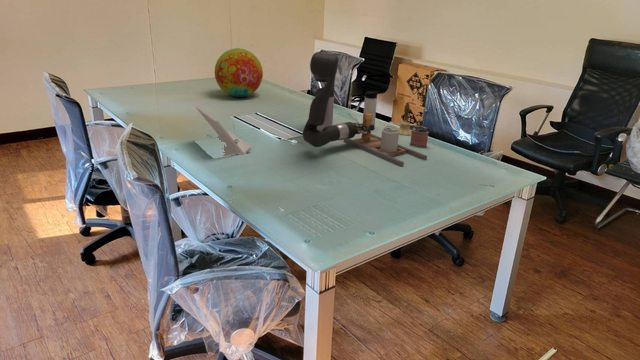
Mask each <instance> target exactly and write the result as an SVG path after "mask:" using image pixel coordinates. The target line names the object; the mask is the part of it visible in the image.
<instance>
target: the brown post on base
mask: <svg viewBox="0 0 640 360" xmlns="http://www.w3.org/2000/svg"><path fill="white" fill-rule="evenodd" d="M362 125H364V126H369V125H372V114H369V113H365V114H364V113H363V114H362ZM365 129H366V128H365ZM371 134H372V130H370V133H369V134H367V135H363V133H361V137H359V138H355V139H353V140H354V141H356V142H358V143H361V144H363V145H365V146H368V147H370V148H372V149H375V150H377V151H379V152H382V153H384V154H386V155H389V156H391V157H393V158H396V157H398V156H401V155H405V154H407V153H406V152H407V150H405V149H402V148H400V147H397V151H396V152H392V153H385V152H383V151H381V150H380V148H381V140H380V139H377V138H375V137H372V136H371Z"/></svg>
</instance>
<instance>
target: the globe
mask: <svg viewBox="0 0 640 360" xmlns="http://www.w3.org/2000/svg"><path fill="white" fill-rule="evenodd" d="M263 77H264V72H263V66H262V63H261V61H260V60H259V58H258V57H257V56H256V55H255V54H254V53H253V52H251V51H250V50H247V49H245V48H240V47H239V48H230V49H228V50H227V51H224V52H223V53H222V54H221V55H219V58H218V59H217V60H216V62H215V66H214V78H215V81H216V84H217V85H218V87H219V88H220V89H221V91H223V92H224V93H226V95H229V96H232V97H234V98H235V97H236V98H244V97H248V96H250V95H252V94H253V93H255V92H256V91H257V90H258V89H259V87H260V86H261V85H262V81H263Z"/></svg>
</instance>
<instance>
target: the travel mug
mask: <svg viewBox="0 0 640 360" xmlns="http://www.w3.org/2000/svg"><path fill="white" fill-rule="evenodd" d="M378 94H379V91H378V90H368V91H365V92H364V100H363V101H364V102H363V103H364V104H363V114H365V113H369V114H372V125H375V124H376V115H377V114H376V111H377V104H378V103H377V102H378ZM375 126H376V125H375Z"/></svg>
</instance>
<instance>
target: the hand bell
mask: <svg viewBox="0 0 640 360" xmlns="http://www.w3.org/2000/svg"><path fill="white" fill-rule="evenodd" d="M403 109H404V118H403V119H404V120H403V121H402V122H401V123H400V126H399V127H398V131H399V136H411V134H412V132H411V130H412V129H411V124H410V122H409V121H408V120H409V119H408V116H409V113H410V109H411V107H410V103H409V102H406V103H405V106H404V108H403Z"/></svg>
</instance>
